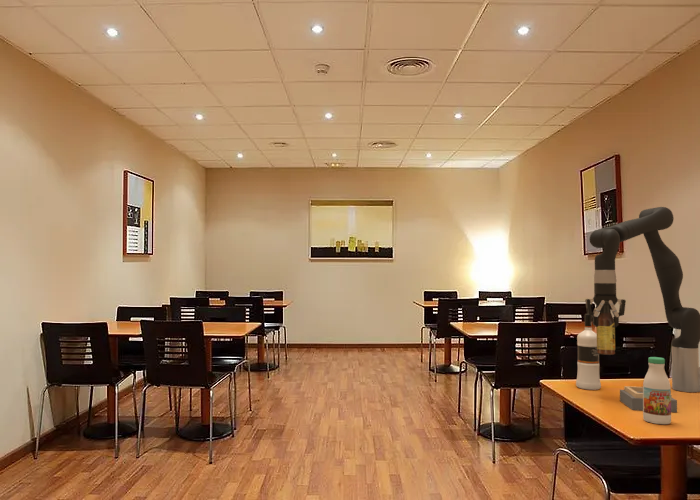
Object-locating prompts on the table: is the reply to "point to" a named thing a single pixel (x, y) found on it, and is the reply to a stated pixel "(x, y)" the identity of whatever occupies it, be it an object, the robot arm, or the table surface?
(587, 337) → the vodka
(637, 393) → the tray
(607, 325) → the sauce bottle
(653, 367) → the milk bottle
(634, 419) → the table surface
